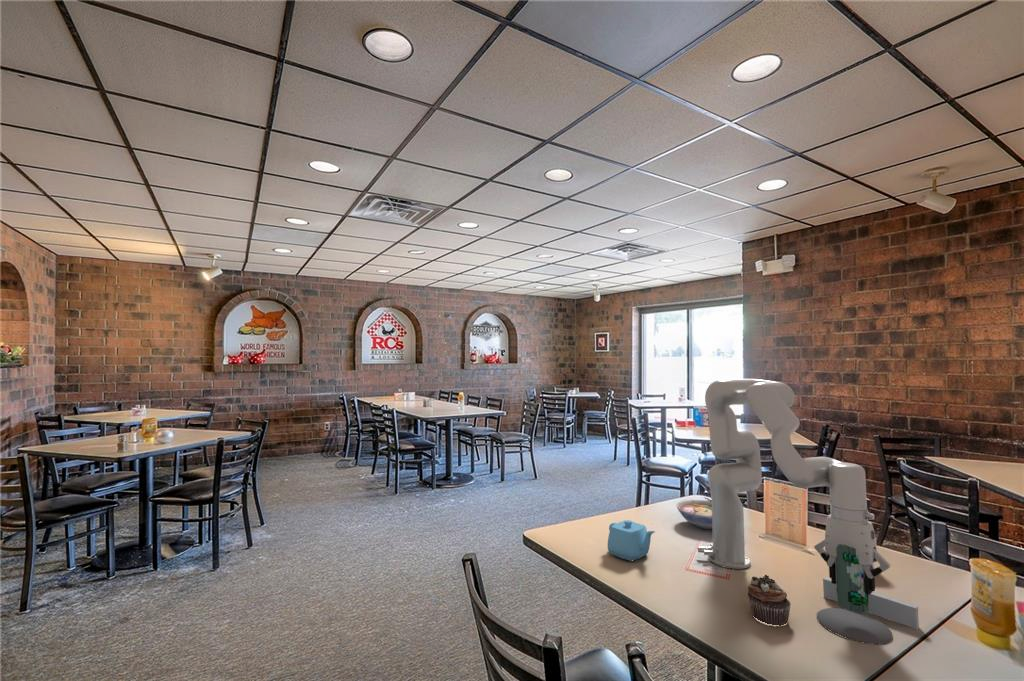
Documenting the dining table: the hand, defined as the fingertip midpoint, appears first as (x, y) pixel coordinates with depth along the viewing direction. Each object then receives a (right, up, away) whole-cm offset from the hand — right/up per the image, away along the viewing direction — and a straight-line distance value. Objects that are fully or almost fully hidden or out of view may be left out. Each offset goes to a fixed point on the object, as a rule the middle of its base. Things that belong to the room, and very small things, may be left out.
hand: (851, 586), depth 116 cm
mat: (0, -9, 0) cm, 9 cm away
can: (0, -5, 0) cm, 5 cm away
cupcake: (-19, -10, +3) cm, 21 cm away
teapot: (-44, -12, +42) cm, 62 cm away
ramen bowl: (-6, -13, +71) cm, 72 cm away
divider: (+9, -10, +6) cm, 15 cm away
